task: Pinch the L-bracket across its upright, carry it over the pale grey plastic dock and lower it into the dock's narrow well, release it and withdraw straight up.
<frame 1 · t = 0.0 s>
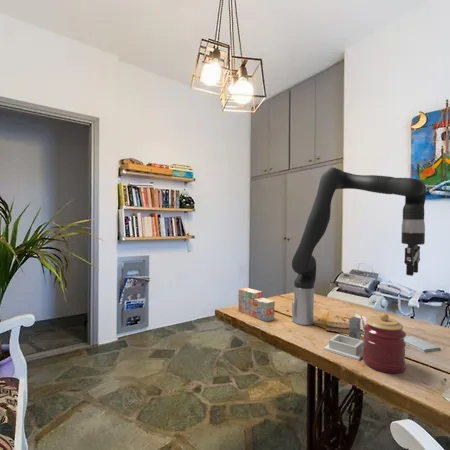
hand: (412, 273, 114), 29 cm above the table, fingers open, 8 cm apart
dock: (346, 350, 114), on the table
stack of blocks: (255, 315, 155), on the table
canister: (383, 365, 103), on the table
bracket: (354, 343, 120), on the table
hard drive: (417, 346, 120), on the table
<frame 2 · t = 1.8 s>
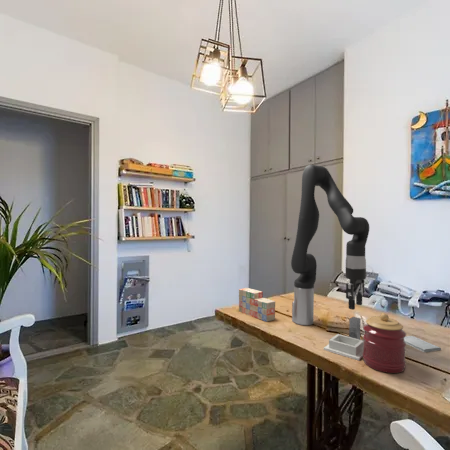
hand: (355, 306, 120), 15 cm above the table, fingers open, 8 cm apart
nothing on the table moved.
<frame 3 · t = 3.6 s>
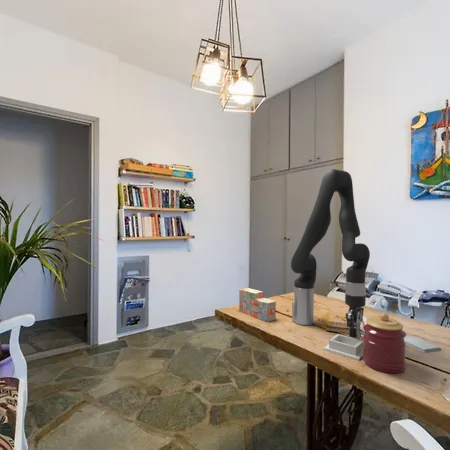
hand: (354, 335, 120), 3 cm above the table, fingers closed on bracket, 4 cm apart
bracket: (354, 343, 120), on the table, touching gripper
everything else where it was.
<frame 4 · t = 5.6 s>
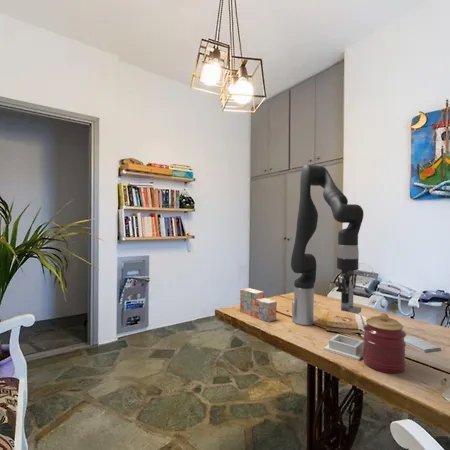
hand: (347, 301, 113), 19 cm above the table, fingers closed on bracket, 4 cm apart
bracket: (347, 310, 113), point 15 cm above the table, touching gripper
everything else where it was.
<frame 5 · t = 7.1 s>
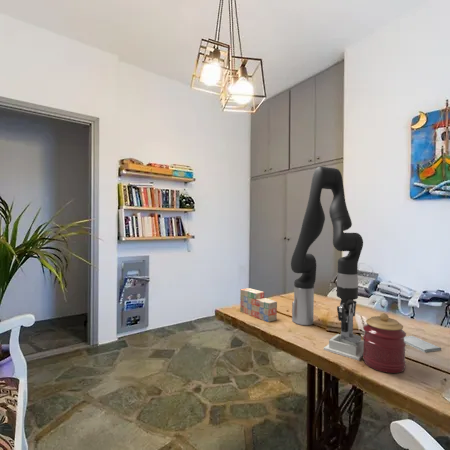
hand: (346, 329, 113), 8 cm above the table, fingers closed on bracket, 4 cm apart
bracket: (346, 338, 113), point 5 cm above the table, touching gripper
when the fingers open (5 cm above the table, at t = 8.1 s): bracket stays where it is and tips over, resting on dock.
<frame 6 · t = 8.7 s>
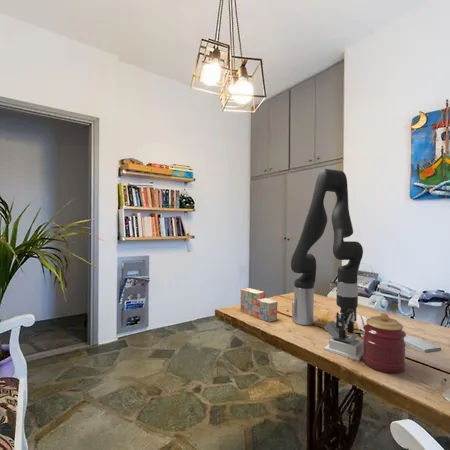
hand: (346, 336, 113), 5 cm above the table, fingers open, 8 cm apart
bracket: (348, 345, 113), point 2 cm above the table, tilted 50°, touching dock
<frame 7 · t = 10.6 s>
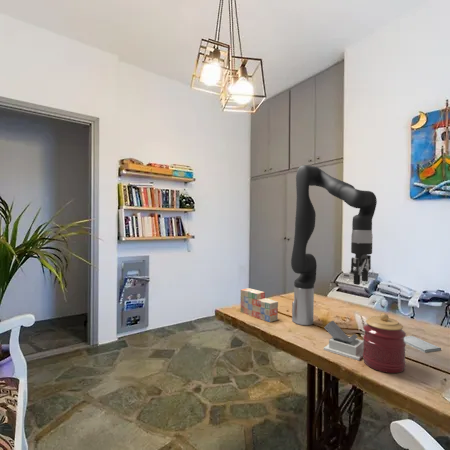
hand: (360, 282, 117), 25 cm above the table, fingers open, 8 cm apart
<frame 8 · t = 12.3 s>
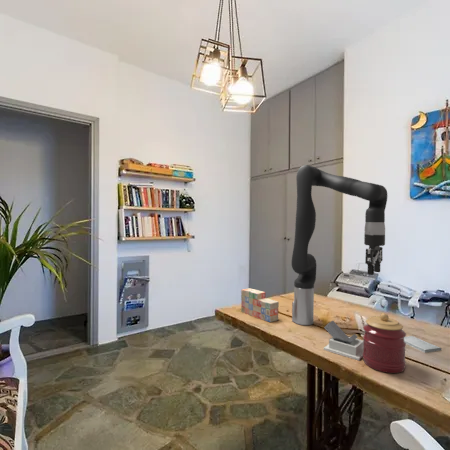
hand: (374, 273, 121), 28 cm above the table, fingers open, 8 cm apart
at the end: bracket inside the target area on the dock (0.6 cm from its centre), point 2.0 cm above the dock's base; the gripper is holding nothing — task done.
